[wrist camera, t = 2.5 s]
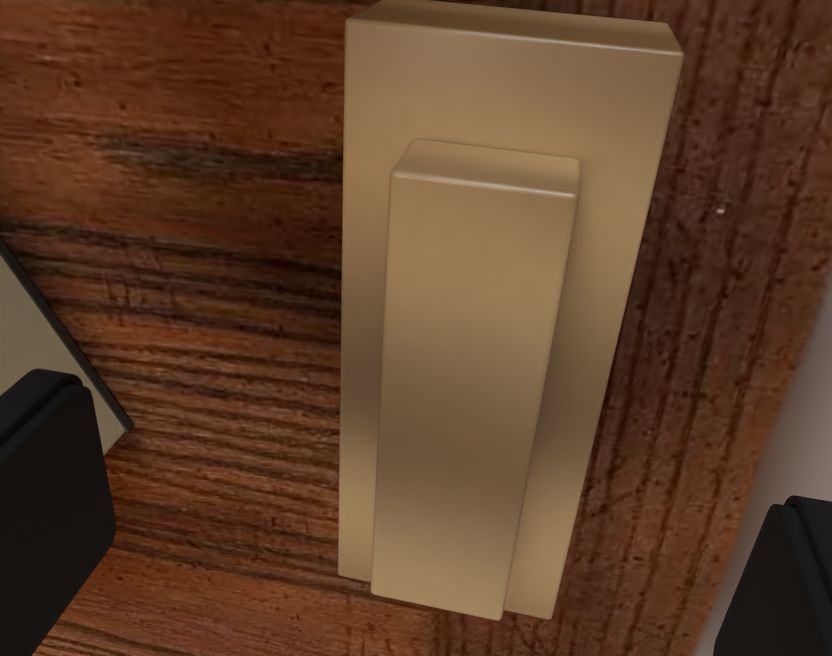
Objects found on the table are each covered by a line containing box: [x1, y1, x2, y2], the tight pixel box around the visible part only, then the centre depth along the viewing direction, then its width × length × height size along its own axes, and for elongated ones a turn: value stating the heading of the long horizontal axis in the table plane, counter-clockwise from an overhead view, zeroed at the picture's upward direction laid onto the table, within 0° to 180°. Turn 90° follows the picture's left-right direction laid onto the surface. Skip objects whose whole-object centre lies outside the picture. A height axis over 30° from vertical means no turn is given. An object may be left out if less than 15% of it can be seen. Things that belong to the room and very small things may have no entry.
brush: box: [338, 0, 685, 621], centre depth 14 cm, size 11×4×6 cm, turn 176°
